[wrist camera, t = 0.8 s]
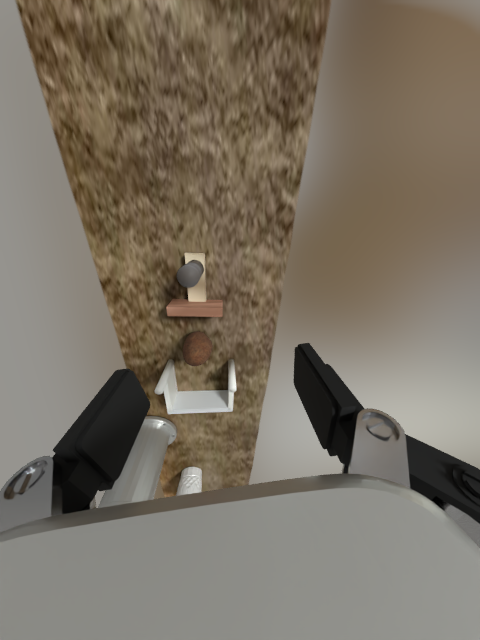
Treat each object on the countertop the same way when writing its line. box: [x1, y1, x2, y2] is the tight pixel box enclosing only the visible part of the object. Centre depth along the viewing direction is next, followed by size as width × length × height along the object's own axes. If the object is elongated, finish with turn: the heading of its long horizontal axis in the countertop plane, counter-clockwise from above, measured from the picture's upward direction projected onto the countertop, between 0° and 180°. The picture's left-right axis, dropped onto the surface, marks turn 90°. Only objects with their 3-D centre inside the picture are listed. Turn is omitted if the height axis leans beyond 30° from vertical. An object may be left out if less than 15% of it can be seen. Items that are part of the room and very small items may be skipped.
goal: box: [155, 359, 236, 414], centre depth 37 cm, size 11×15×8 cm
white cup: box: [176, 467, 202, 496], centre depth 54 cm, size 8×8×10 cm
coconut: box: [183, 331, 212, 366], centre depth 32 cm, size 5×5×8 cm
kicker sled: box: [166, 253, 223, 317], centre depth 27 cm, size 10×9×8 cm
